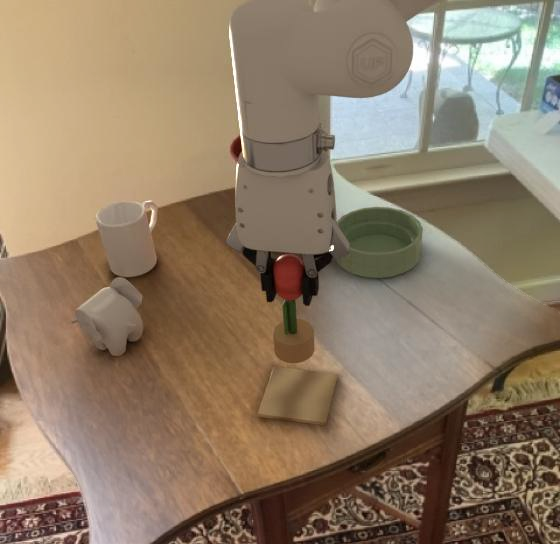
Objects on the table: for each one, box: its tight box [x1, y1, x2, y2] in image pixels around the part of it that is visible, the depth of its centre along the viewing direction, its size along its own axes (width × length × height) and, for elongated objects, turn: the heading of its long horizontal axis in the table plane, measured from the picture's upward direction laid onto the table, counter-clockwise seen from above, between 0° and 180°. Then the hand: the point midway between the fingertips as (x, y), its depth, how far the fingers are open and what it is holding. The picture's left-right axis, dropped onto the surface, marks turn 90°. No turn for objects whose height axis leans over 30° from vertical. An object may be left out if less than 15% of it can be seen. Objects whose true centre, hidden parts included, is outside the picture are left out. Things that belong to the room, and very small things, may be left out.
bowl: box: [335, 206, 424, 279], centre depth 108 cm, size 14×14×5 cm
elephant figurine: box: [70, 276, 144, 357], centre depth 96 cm, size 10×12×9 cm
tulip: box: [272, 253, 315, 364], centre depth 77 cm, size 5×5×14 cm
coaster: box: [257, 366, 339, 426], centre depth 87 cm, size 9×9×1 cm
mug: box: [94, 200, 159, 278], centre depth 111 cm, size 8×12×10 cm, turn 146°
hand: (290, 295), depth 76 cm, fingers closed on tulip, 3 cm apart
